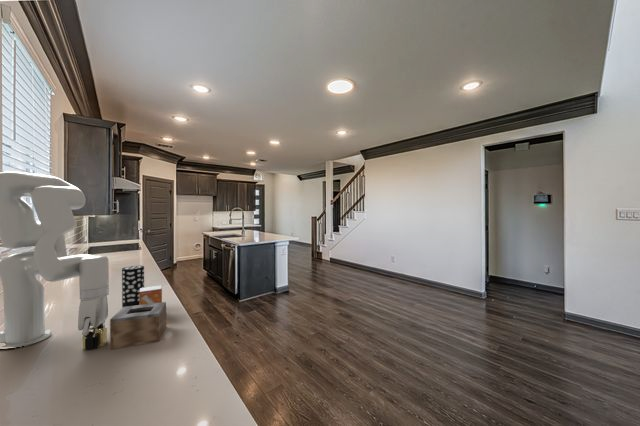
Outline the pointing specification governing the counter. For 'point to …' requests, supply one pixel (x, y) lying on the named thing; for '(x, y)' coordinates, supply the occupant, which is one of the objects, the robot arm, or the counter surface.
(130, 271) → the white-spotted black cylinder
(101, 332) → the yellow rectangular block
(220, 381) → the counter surface
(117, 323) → the coin box
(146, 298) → the small box
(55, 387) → the counter surface
